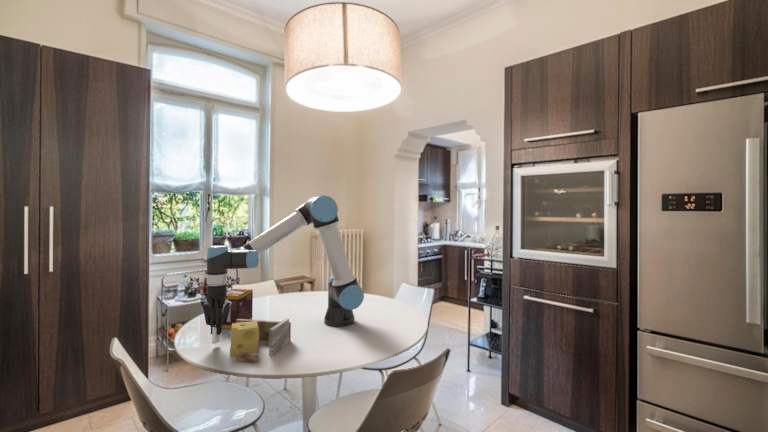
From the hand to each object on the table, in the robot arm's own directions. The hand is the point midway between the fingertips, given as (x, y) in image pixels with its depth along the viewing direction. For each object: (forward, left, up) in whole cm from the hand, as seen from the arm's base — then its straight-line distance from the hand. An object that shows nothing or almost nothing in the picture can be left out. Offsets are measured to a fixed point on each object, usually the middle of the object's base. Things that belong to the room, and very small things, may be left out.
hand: (215, 342), depth 144 cm
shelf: (-14, 0, -2) cm, 15 cm away
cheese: (-13, 0, -2) cm, 13 cm away
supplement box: (+10, -29, -2) cm, 31 cm away
